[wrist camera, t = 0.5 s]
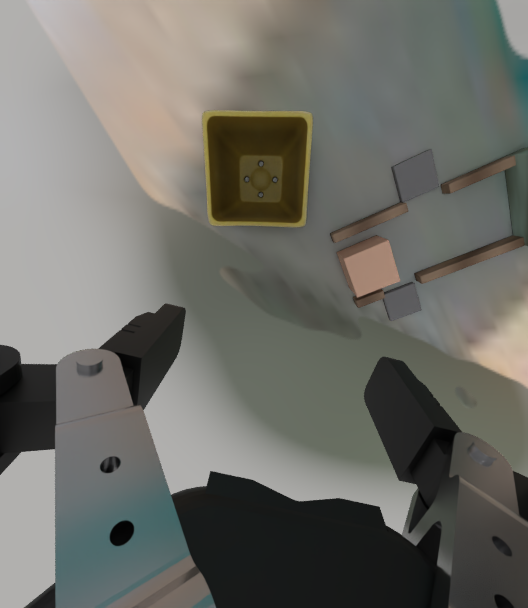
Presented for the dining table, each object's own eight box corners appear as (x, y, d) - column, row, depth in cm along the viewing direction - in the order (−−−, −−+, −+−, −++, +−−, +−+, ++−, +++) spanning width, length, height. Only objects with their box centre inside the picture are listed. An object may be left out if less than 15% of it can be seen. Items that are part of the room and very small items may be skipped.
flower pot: (303, 135, 29) (314, 110, 21) (298, 219, 32) (305, 227, 24) (222, 134, 29) (200, 109, 21) (225, 218, 32) (207, 225, 24)
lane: (523, 148, 28) (571, 138, 24) (532, 236, 32) (576, 242, 27) (330, 233, 33) (338, 239, 28) (355, 303, 36) (366, 319, 31)
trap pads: (441, 148, 29) (444, 147, 28) (418, 317, 36) (420, 319, 36) (392, 153, 29) (394, 152, 29) (379, 319, 36) (380, 321, 36)
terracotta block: (375, 235, 33) (388, 240, 29) (386, 271, 34) (400, 280, 30) (336, 252, 34) (343, 258, 30) (349, 286, 35) (357, 297, 31)
